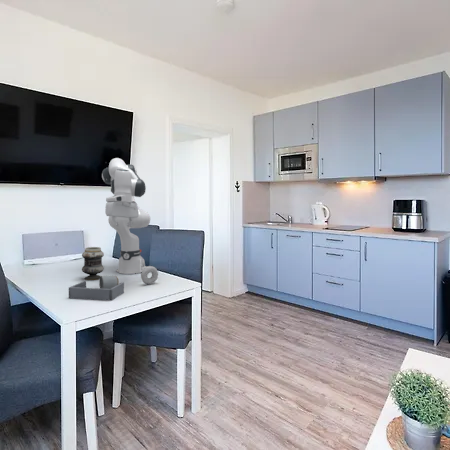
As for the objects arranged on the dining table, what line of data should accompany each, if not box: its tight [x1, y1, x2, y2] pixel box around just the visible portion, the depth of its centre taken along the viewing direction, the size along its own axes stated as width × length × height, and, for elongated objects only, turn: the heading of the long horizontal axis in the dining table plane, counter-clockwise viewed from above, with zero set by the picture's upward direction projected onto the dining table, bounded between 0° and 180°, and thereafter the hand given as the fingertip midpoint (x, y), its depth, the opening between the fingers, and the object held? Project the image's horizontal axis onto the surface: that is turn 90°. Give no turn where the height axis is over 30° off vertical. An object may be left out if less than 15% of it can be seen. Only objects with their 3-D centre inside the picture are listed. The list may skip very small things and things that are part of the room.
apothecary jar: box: [81, 246, 105, 281], centre depth 189 cm, size 12×12×18 cm
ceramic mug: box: [98, 275, 120, 289], centre depth 167 cm, size 11×8×8 cm
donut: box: [140, 265, 159, 285], centre depth 178 cm, size 10×4×10 cm, turn 132°
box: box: [68, 280, 125, 301], centre depth 156 cm, size 13×21×5 cm, turn 82°
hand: (122, 225), depth 170 cm, fingers open, 8 cm apart
